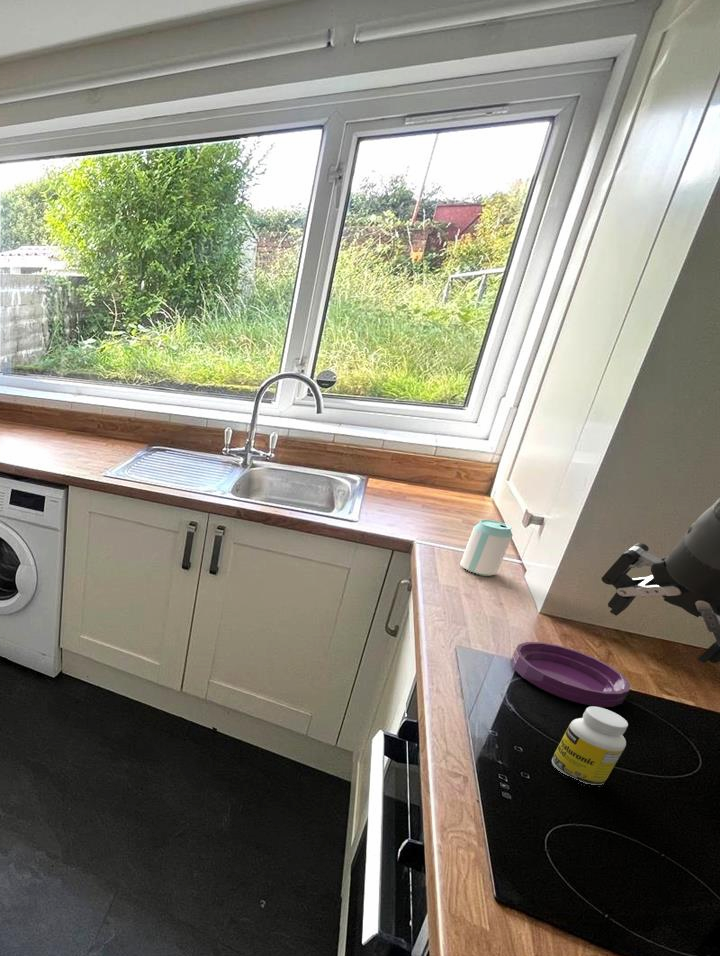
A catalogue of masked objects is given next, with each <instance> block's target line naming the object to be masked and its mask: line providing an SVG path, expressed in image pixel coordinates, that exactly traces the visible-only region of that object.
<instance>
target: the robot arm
mask: <svg viewBox="0 0 720 956" xmlns="http://www.w3.org/2000/svg"><path fill="white" fill-rule="evenodd" d="M649 549H650V548H649V546H648V545H647V544H645V543H642V542H637V543H635V544H634V545H633V546H632V547H630V548H629V549H627V550H625V552H623V553H622V554H621V555H620V557H618V558H617V560H616V561H614V563H613V564H612V565H611V566H610V567H609V569H607V571H606V572H604V575H603V576H602V577H601V581H602V583H604V584H606V585H609V586H611V585H612V586H613V587H614V588H615V591H616V592H615V594H614V595H613V596H612V598H610V600H609V601H608V603H607V607H608V608H609V609H610V611H609V613H611V615H614V616H618V615H620V614H621V613H622V612H624V611H625V610H626V609H627V608H628V607H629V606H630V605H631V603H632V602H633V601H634V600H635V599H636V597H639V596H640V597H641V598H652V597H662V598H663V601H664V602H666V603H668V604H670V605H672V606H676V607H679V608H680V609H683V610H684V611H685V612H687V613H688V614H690V615H692V616H694V617H696V618H699V617H702V619H703V621H704V624H705V626H706V629H707V631H708V632H709V633H712V634H713V636H714V638H715V642H713V643H712V644H711V645H710V646H709V647H707V649H705V650H704V651H703V652H702V653H701V655H699V656H698V657H697V658H696V660H697V661H699V662H700V663H703V664H706V663H708V661H709V662H711V663H712V664H717V663H720V497H719V498H718V499H717V500H716V501H715V502H714V503H713V504H712V505H711V506H709V508H707V509H706V510H705V511H704V512H703V513H702V514H701V515H700V516H699V517H698V518H697V519H696V520H695V522H693V523H691V524H690V525H689V527H688V528H687V530H686V533H685V534H684V535H683V537H682V538H681V539H680V540H679V542H678V543H677V544H676V545H675V546H674V548H673V549H672V550H671V552H670V553H668V555H667V556H666V557H663V558H660V557H659V556H656V555H655V554H653V553H650V552H648V551H650V550H649ZM642 567H650V573H651V575H647V576H642V577H631V576H629V575H628V573H629V572H630V571H631V569H635V568H636V569H640V568H642Z"/></svg>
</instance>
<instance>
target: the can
mask: <svg viewBox="0 0 720 956" xmlns="http://www.w3.org/2000/svg"><path fill="white" fill-rule="evenodd" d="M512 538H513V532H512V526H511V525H509V524H507V523H505V522H501V521H498V520H493V519H481V520H480V521H479V523H477V524H476V525H474V526H473V529H472V531H471V534H470V537H469V539H468V542H467V545H466V547H465V550H464V553H463V555H462V557H461V560H460V563H459V565H460V566H461V568H463V569H464V568H465V569H466V570H465V569H464V570H465V571H466V572H468V573H471V572H473V573H472V574H474V573H476V574H474V575H477V576H483V577H491V576H494V575H497V574H498V572H499V570H500V567H501V565H502V563H503V560H504V557H505V555H506V553H507V550H508V548H509V545H510V543H511V541H512ZM467 570H468V571H467ZM469 571H471V572H469ZM478 574H479V575H478Z"/></svg>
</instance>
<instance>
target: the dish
mask: <svg viewBox="0 0 720 956" xmlns="http://www.w3.org/2000/svg"><path fill="white" fill-rule="evenodd" d="M509 661H510V665H511V666H512V669H513V670H514V671H515V672H516V673H517V674H518V675H520V677H521V678H522V679H524V680H526V681H528V682H529V683H530V684H532V685H534V686H535V687H537V688H538V689H540V690H542V691H544V692H546V693H548V694H551V695H553V696H555V697H558V698H561V699H564V700H566V701H570V702H573V703H577V704H580V705H587V706H591V707H592V706H593V707H600V708H614V707H616V706H619V705H622V704H623V703H624V701H625V699H626V698H627V696H628V694H629V692H630V688H631V683H630V682H629V680H628V679H627V678H626V676H625V675H624V674H622V673H621V672H619V670H617V669H616V668H614V667H613V666H611V665H610V664H608V663H606V662H604V661H602V660H600V659H598V658H596V657H595V656H591V655H589V654H586V653H585V652H584V653H583V652H581V651H579V650H576V649H572V648H569V647H565V646H562V645H559V644H554V643H547V642H543V641H542V642H541V641H526V642H522V643H518V645H517V646H516V647H515V650H514V652H513V654H512V656H511V659H510V660H509Z"/></svg>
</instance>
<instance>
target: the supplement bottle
mask: <svg viewBox="0 0 720 956" xmlns="http://www.w3.org/2000/svg"><path fill="white" fill-rule="evenodd" d="M628 727H629V723H628V720H626V719H625V718H624V717H622V716H621V715H620V714H618V713H616V712H614V711H612V710H609V709H606V708H605V707H597V706H592V705H591V706H588V707H586V708H585V710H584V712H583V714H582V717H579V718H575V719H573V720H572V721H571V722H570V723H569V725H568V727H567V729H566V730H565V732H564V734H563V736H562V738H561V740H560V742H559V744H558V746H557V748H556V750H555V751H554V754H553V755H552V758H551V765H552V766H553V767H554V769H555V768H556V769H557V770H558V771H560V772H561V773H563V774H565V775H567V776H570V777H572V778H574V779H576V780H579V781H580V782H583V783H585V784H591V785H602V784H603V785H604V784H605V783H606V781H607V779H608V778H609V776H610V774H611V773H612V771H613V769H614V767H615V766H616V764H617V762H618V761H619V759H620V757H621V756H622V753H623V752H624V750H625V748H626V747H627V741H626V738H625V737H624V734H625V732H626V731H627V729H628ZM556 769H555V770H556ZM557 770H556V771H557ZM558 771H557V772H558ZM560 772H559V773H560ZM561 773H560V774H561ZM603 785H602V786H603Z"/></svg>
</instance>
